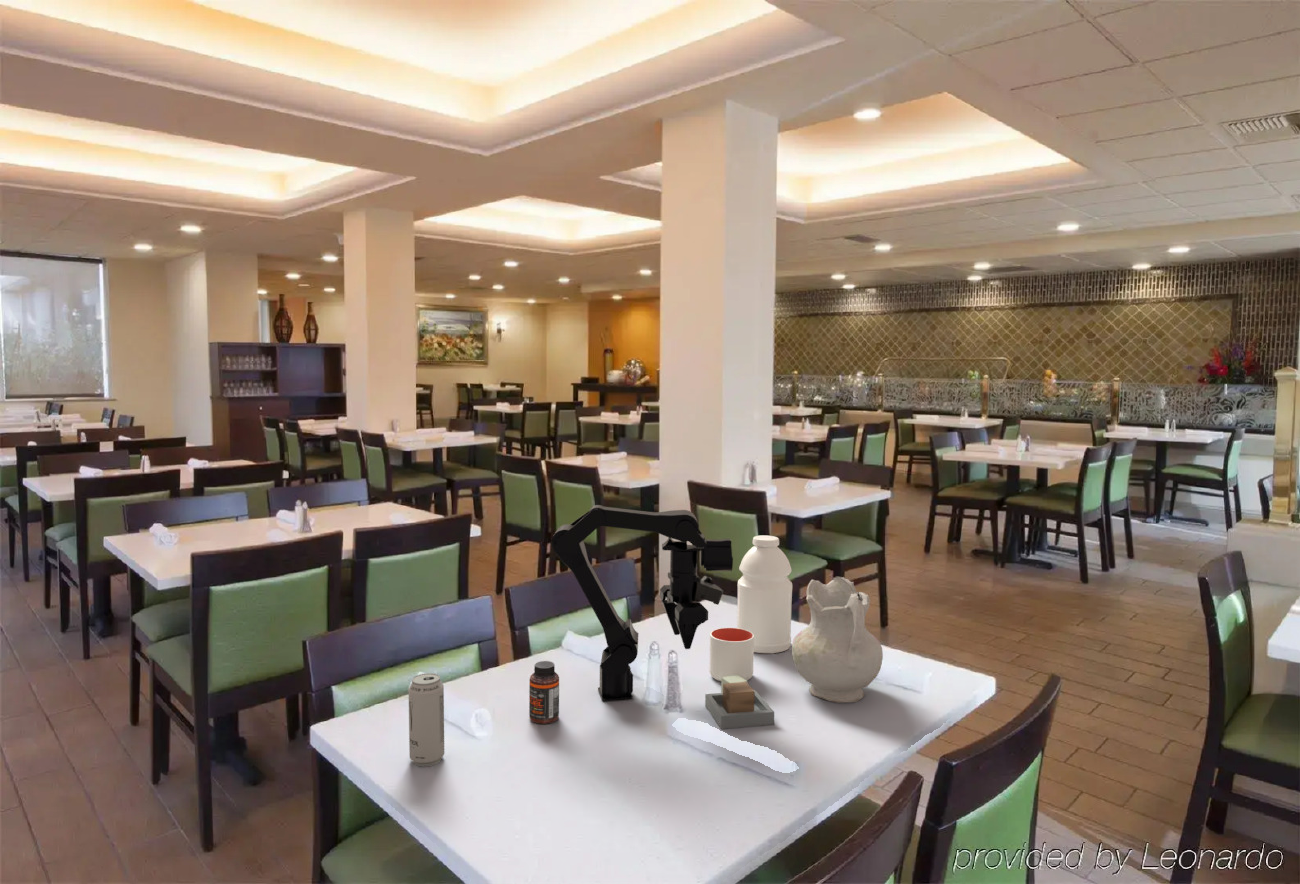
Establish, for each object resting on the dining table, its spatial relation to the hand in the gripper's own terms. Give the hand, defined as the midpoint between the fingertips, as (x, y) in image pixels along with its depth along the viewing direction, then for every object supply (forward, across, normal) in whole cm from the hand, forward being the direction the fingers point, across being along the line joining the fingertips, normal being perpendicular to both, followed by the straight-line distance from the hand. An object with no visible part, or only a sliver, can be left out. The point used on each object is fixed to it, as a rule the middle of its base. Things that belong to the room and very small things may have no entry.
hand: (682, 641), depth 172 cm
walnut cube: (+11, -12, -9) cm, 18 cm away
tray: (+12, -12, -9) cm, 19 cm away
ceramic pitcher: (+12, -6, -34) cm, 37 cm away
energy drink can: (+12, -19, +52) cm, 57 cm away
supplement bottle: (+12, -6, +30) cm, 33 cm away
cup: (+12, +8, -14) cm, 20 cm away
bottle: (+12, +27, -29) cm, 42 cm away
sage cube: (+12, -3, -11) cm, 17 cm away
